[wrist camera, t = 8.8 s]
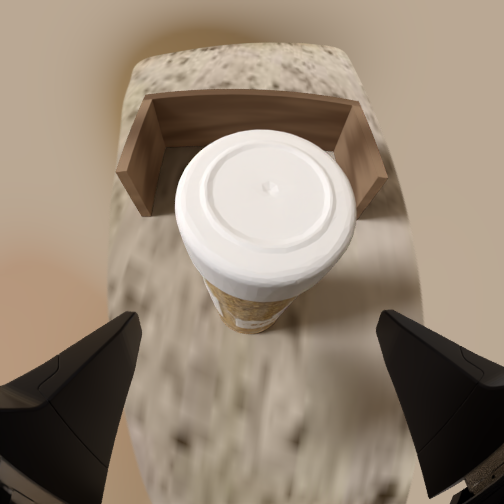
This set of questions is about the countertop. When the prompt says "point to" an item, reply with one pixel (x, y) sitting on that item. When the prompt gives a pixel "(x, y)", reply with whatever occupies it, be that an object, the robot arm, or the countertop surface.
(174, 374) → the countertop surface
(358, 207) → the walnut crate
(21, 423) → the robot arm
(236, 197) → the sprinkles bottle
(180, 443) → the countertop surface
